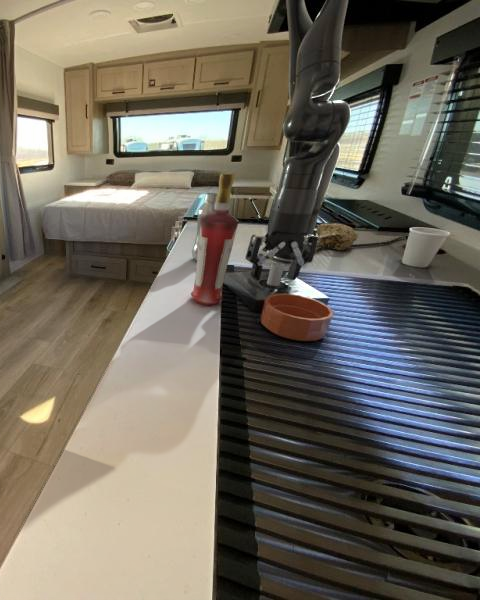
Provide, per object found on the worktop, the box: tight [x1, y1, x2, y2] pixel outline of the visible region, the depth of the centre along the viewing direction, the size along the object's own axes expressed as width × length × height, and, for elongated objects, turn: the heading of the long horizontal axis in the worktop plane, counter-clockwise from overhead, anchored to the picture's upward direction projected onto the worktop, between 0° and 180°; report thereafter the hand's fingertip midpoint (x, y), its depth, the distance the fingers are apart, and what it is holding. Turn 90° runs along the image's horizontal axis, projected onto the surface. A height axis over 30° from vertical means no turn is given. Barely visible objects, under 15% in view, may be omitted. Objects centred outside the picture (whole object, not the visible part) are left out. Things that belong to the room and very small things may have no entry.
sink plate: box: [223, 270, 330, 313], centre depth 79 cm, size 16×16×3 cm
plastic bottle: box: [191, 192, 218, 261], centre depth 98 cm, size 6×7×20 cm
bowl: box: [259, 294, 335, 342], centre depth 65 cm, size 11×11×5 cm
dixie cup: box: [401, 226, 451, 268], centre depth 96 cm, size 8×8×10 cm
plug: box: [261, 261, 285, 289], centre depth 78 cm, size 5×5×8 cm
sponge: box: [316, 222, 359, 251], centre depth 116 cm, size 13×8×20 cm
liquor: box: [190, 172, 239, 306], centre depth 71 cm, size 7×7×28 cm
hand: (273, 279), depth 78 cm, fingers open, 8 cm apart
